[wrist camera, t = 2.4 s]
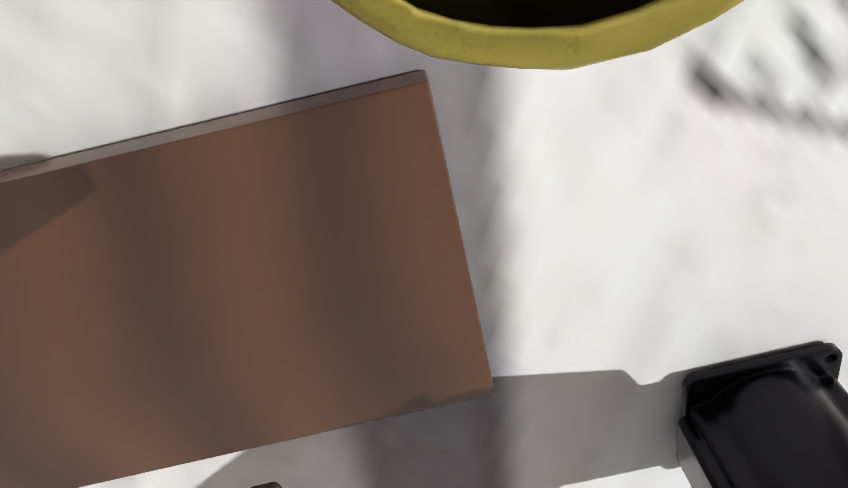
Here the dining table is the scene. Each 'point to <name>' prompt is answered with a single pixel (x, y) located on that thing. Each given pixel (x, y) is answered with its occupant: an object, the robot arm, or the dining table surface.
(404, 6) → the vase
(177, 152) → the board
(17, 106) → the dining table surface
